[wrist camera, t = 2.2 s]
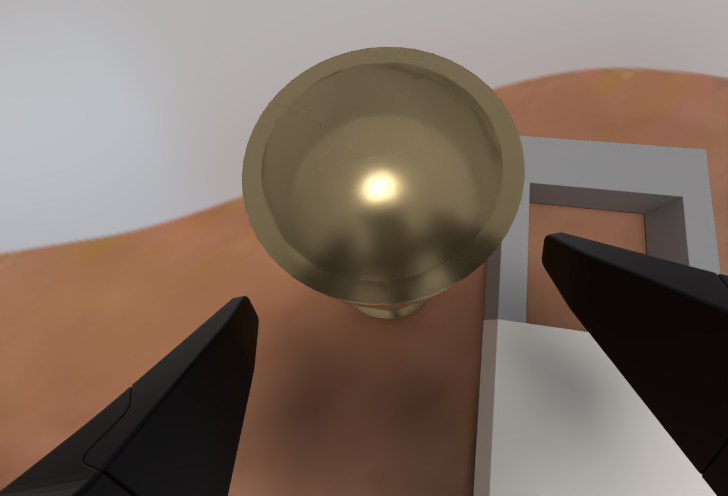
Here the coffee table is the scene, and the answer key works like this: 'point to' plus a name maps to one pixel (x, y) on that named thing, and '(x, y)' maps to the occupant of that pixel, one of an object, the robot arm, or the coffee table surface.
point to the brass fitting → (383, 177)
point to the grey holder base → (584, 335)
